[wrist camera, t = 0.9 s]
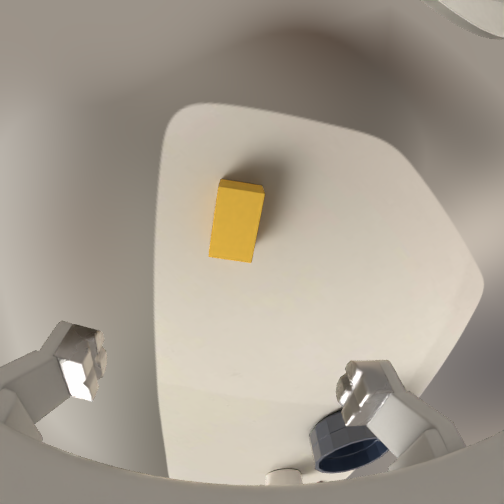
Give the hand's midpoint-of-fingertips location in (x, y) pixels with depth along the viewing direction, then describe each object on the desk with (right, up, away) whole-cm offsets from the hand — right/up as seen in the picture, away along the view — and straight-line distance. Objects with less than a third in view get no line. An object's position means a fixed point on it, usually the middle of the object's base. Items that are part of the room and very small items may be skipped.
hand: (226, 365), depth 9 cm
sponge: (0, +6, +13) cm, 15 cm away
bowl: (+14, -21, +26) cm, 36 cm away
